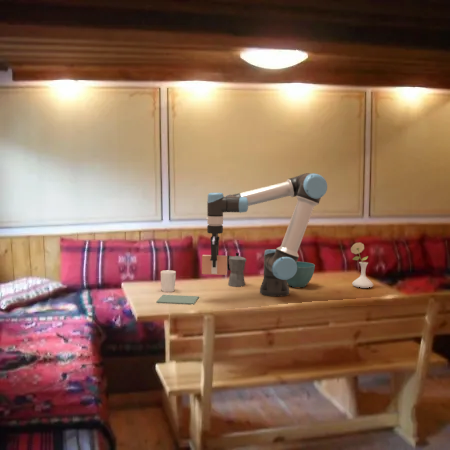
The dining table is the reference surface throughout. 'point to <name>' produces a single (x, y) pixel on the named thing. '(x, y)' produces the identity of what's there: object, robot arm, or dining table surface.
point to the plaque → (220, 265)
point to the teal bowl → (302, 274)
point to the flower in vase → (362, 280)
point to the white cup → (168, 280)
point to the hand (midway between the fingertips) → (214, 273)
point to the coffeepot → (236, 270)
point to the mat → (177, 299)
